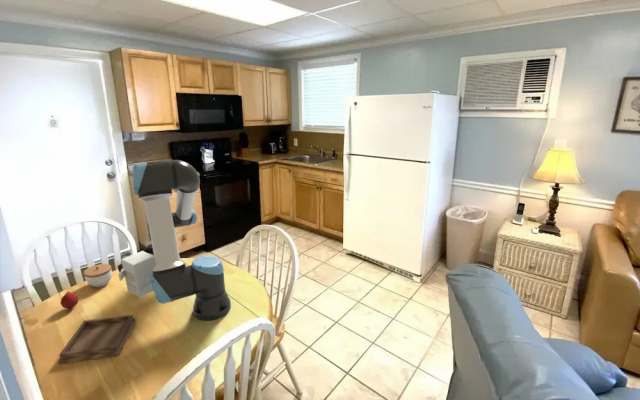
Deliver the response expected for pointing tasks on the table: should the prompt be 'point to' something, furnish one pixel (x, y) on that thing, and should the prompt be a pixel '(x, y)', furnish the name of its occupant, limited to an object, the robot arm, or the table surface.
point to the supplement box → (139, 273)
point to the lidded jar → (98, 275)
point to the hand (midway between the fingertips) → (137, 275)
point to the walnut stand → (98, 339)
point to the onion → (69, 300)
